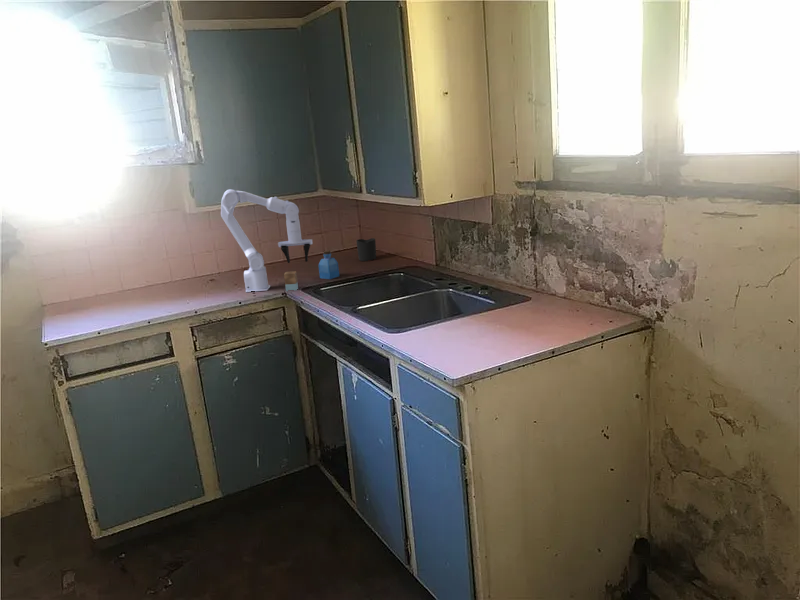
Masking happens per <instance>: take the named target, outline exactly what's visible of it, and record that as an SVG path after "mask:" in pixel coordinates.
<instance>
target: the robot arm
mask: <svg viewBox="0 0 800 600" xmlns="http://www.w3.org/2000/svg"><path fill="white" fill-rule="evenodd" d="M246 202H247V203H252V204H256V205H260V206H264V207H266V209H267V210H268V211H271V212H274V213H278V214H280V215H283V214H285V218H286V219H285V220H286V221H285V224H286V232H287V239H288V240H285V241H279V242H277V246H278V248H280V250H281V252H282V253H283V255H284V257H285V259H286V260H287V261H286V262H287V264H290V263H291V258H290V252H289V247H291V246H292V247H293V246H303V251H304V252H303V253H304V261H305V262H308V260H309V259H308V258H309V253H310V252H309V251H310V248H311V245H313V244H314V243H313V238H311V239H310V238H309V239H302V231H301V223H300V222H301V221H300V219H299V218H300V217H299V213H300V209H299V207H298V205H297V204H296V203H294V202H292V201H289V200H288V199H286V200H283V199H279V198H278V196H274V197H273V196H271V197H268V198H266V197H263V196H260V195H256V194H253V193H251V192H247V191H244V190H243V191H242V190H236V189H233V188H229V189H226V191H224V192H223V194H222V197H221V201H220V203H221V205H220V217H221V219H222V220H223V221H224V223H225V225H226V227H227V228H228V230H229V231H230V233H231V235H232V236H233V238H234V240H235V241H236V242H237V243H238V245H239V248H241V250H242V252H243V253H244V255H245V257H246V258H247V260H248V265H249V268H248V269H247V270H246V269H245V270H244V271H243V281H244V287H245V293H252V292H251V291H255V292H263V291H265V292H266V291H269V290H270V288H271V285H270V284H269V281H268V275H267V267H266V266H265V260H264V255H262V253H260V252H258V250H257V249H256V248H255V247H254V245H253V244H252V241H250V239H249V237H248V236H247V234H246V232H245V231H244V230H243V228H242V227H241V225H240V224H239V223H240V222H238V220H237V219H236V217H235V215H234V211H235V207H236V206H237V204H238V203H239V204H243V203H246Z"/></svg>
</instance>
